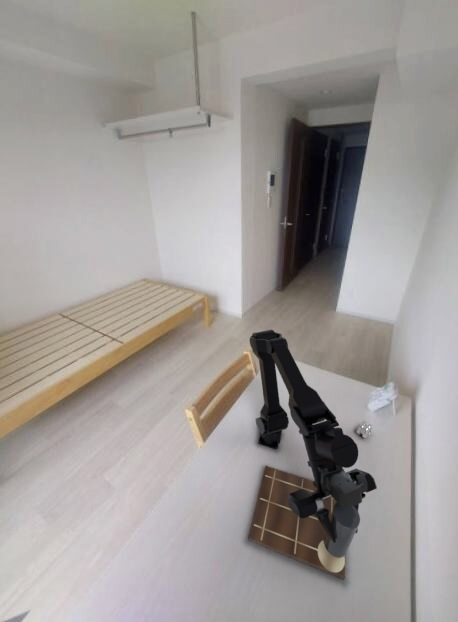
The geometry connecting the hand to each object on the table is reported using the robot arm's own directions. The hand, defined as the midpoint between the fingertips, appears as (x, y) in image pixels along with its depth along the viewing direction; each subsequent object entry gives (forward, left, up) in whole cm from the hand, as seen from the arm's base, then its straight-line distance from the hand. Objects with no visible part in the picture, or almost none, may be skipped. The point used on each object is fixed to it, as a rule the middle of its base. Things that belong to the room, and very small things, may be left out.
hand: (344, 536), depth 56 cm
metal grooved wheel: (+9, +39, -13) cm, 43 cm away
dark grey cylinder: (-1, +1, -7) cm, 7 cm away
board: (-9, +7, -13) cm, 18 cm away
